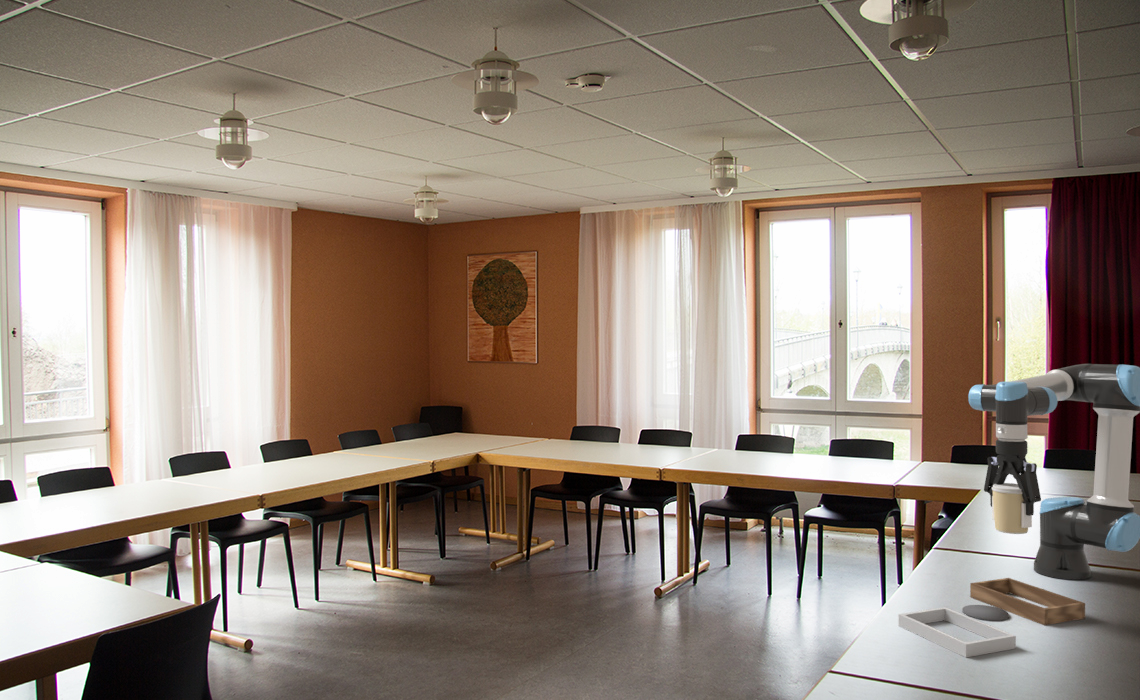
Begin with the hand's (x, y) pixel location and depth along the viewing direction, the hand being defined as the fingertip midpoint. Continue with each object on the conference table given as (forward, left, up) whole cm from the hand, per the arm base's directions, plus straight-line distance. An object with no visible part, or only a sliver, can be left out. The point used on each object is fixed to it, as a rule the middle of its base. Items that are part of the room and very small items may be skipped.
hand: (1011, 523), depth 223 cm
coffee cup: (0, 0, -2) cm, 2 cm away
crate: (-5, 0, -23) cm, 24 cm away
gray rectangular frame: (+29, +10, -23) cm, 39 cm away
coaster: (+9, 0, -23) cm, 25 cm away
